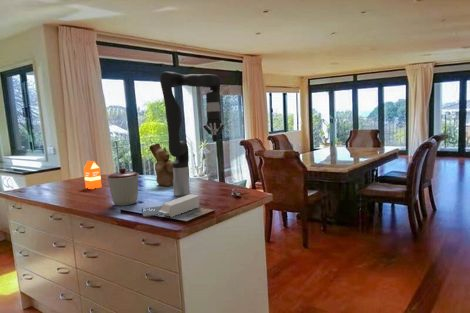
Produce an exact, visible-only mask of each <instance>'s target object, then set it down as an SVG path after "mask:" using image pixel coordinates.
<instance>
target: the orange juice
mask: <svg viewBox="0 0 470 313" xmlns="http://www.w3.org/2000/svg"><path fill="white" fill-rule="evenodd" d="M83 173H84V183H85V189H87V188H88V189H89V190H94V189H95V188H96V189H100V188H102V187H103V186H102V178H101V175H102V174H101V168H100V166H99V165H98V164H97V163H96V161H95V160H87V161H86V164H85V165H84V167H83Z"/></svg>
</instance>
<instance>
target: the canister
mask: <svg viewBox="0 0 470 313" xmlns="http://www.w3.org/2000/svg"><path fill="white" fill-rule="evenodd" d="M118 170H119V172H114V173H111V174H109V175H108V176H106V177H105V178H106V179H107V182H108V186H109V187H108V188H109V191H110V195H111V200H112V202H113V205H115V206H118V207H119V206H120V207H123V206H130V205H133V204H135V203H137V201H138V199H139V198H138V196H139V176H140V173H138V172H136V171H127V170H126V168H125V167H120V168H119V169H118Z"/></svg>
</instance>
